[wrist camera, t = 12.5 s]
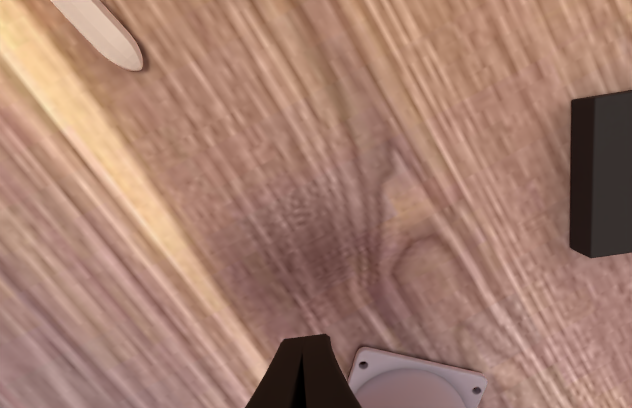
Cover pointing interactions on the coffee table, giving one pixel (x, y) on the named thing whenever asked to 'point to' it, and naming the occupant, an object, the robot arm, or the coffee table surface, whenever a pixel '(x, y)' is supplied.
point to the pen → (102, 31)
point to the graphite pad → (602, 175)
